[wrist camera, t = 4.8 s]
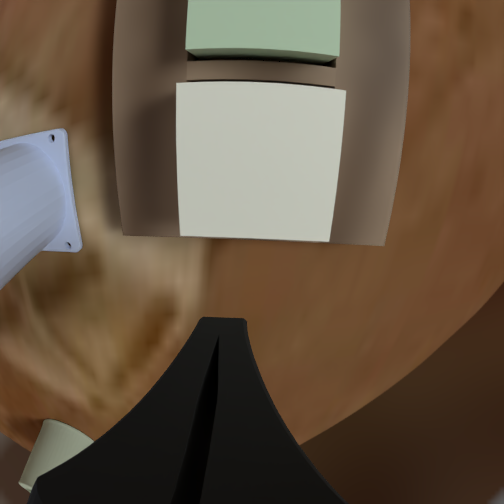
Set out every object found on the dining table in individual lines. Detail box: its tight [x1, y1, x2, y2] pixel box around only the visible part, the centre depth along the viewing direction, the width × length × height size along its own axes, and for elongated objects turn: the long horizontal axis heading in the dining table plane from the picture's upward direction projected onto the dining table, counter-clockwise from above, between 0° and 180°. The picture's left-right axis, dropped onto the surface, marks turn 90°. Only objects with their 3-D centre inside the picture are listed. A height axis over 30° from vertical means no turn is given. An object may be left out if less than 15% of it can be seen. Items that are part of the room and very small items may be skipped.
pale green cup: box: [19, 419, 94, 493], centre depth 28 cm, size 9×9×12 cm
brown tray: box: [112, 0, 410, 246], centre depth 11 cm, size 14×24×2 cm, turn 178°
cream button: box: [176, 82, 346, 242], centre depth 13 cm, size 6×6×4 cm
